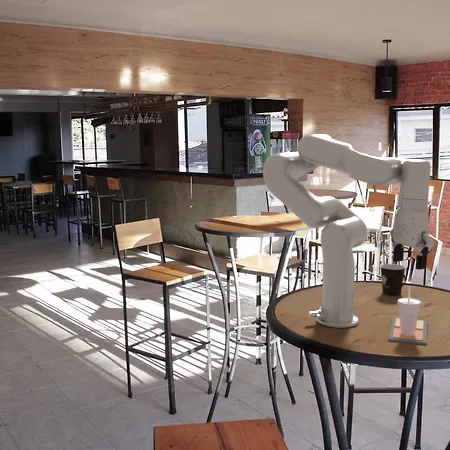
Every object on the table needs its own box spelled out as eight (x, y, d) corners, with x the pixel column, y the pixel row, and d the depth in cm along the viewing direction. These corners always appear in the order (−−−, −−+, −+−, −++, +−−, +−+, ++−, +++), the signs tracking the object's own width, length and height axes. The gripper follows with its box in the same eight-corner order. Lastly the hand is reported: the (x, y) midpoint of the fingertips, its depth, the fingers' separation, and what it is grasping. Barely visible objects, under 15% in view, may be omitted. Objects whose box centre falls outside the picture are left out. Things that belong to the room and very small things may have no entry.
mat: (426, 344, 159) (426, 341, 158) (388, 340, 162) (388, 337, 162) (427, 322, 177) (427, 319, 177) (393, 319, 180) (393, 316, 180)
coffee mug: (378, 289, 215) (379, 263, 213) (402, 290, 214) (403, 264, 212) (382, 298, 204) (383, 271, 202) (407, 299, 202) (408, 271, 201)
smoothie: (393, 335, 163) (395, 287, 161) (398, 328, 169) (400, 282, 167) (417, 339, 160) (419, 290, 158) (421, 332, 166) (423, 284, 164)
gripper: (382, 201, 166) (379, 259, 169) (423, 209, 150) (418, 273, 153) (404, 200, 168) (400, 257, 171) (446, 208, 153) (441, 271, 155)
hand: (409, 265), depth 162 cm, fingers open, 9 cm apart
